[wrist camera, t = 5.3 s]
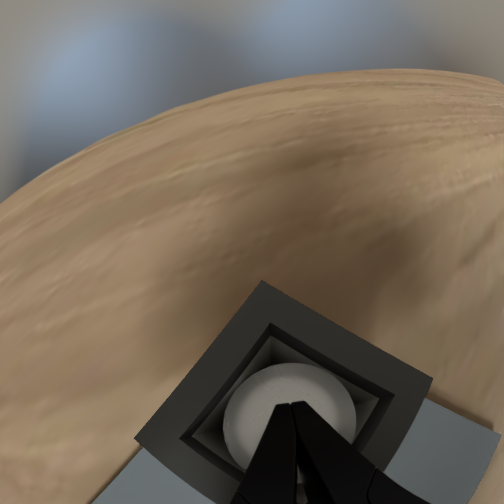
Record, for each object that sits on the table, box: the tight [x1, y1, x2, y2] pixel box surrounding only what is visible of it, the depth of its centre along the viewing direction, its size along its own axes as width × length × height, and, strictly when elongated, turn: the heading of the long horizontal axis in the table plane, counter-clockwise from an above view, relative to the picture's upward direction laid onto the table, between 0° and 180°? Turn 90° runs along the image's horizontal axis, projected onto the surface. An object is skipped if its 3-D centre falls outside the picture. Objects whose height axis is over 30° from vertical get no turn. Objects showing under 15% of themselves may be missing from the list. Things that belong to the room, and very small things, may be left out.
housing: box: [134, 281, 433, 504], centre depth 10 cm, size 7×7×7 cm
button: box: [223, 363, 356, 484], centre depth 10 cm, size 4×4×6 cm
